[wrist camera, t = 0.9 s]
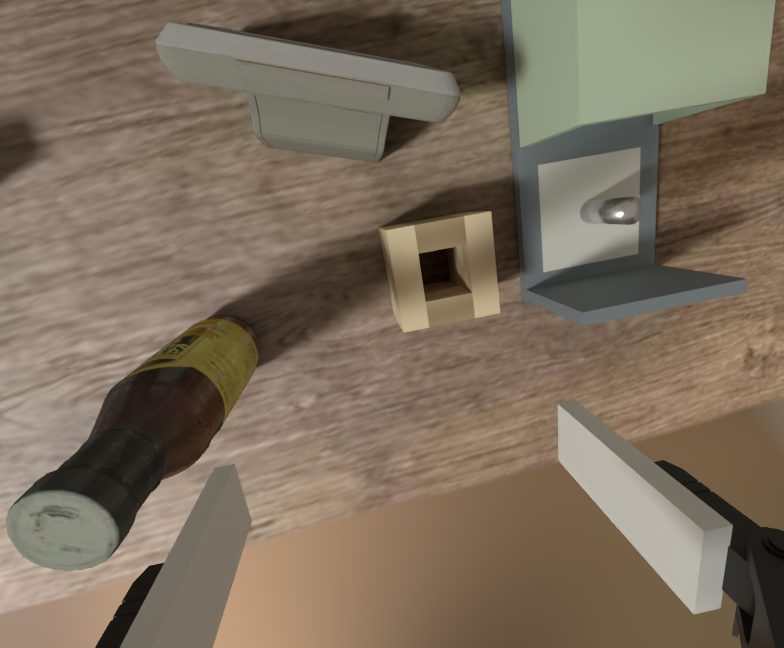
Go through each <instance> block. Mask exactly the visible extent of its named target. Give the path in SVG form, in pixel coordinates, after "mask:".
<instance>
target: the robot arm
mask: <svg viewBox="0 0 784 648" xmlns="http://www.w3.org/2000/svg"><path fill="white" fill-rule="evenodd" d="M558 454H559V462H560V463H561V464H562V465H563V466H564V467H565V468H566V470H567V471H568V472H569V473H570V474H571V475H572V476H573V478H574V479H575V480H576V481H577V482H578V483H579V484H580V485H581V487H582V488H583V489H584V490H585V491H586V492H587V493H588V494H589V496H590V497H591V498H592V499H593V500H594V501H595V502H596V504H597V505H598V506H599V507H600V508H601V509H602V510H603V512H604V513H605V514H606V515H607V516H608V517H609V518H610V520H611V521H612V522H613V523H614V524H615V525H616V526H617V528H618V529H619V530H620V531H621V532H622V533H623V534H624V535H625V536H626V538H627V539H628V540H629V541H630V542H631V543H632V545H633V546H634V547H635V548H636V549H637V550H638V551H639V553H640V554H641V555H642V556H643V557H644V558H645V559H646V560H647V562H648V563H649V564H650V565H651V566H652V567H653V568H654V569H655V571H656V572H657V573H658V574H659V575H660V576H661V578H662V579H663V580H664V581H665V582H666V583H667V584H668V585H669V587H670V588H671V589H672V590H673V591H674V592H675V593H676V595H677V596H678V597H679V598H680V599H681V600H682V601H683V603H684V604H685V605H686V606H687V607H688V608H689V609H690V610H691V612H692V613H693V614H698V613H702V612H706V611H710V610H715V609H718V608H721V601H722V595H723V591H724V592H725V593H726V594H727V595H728V596H729V597H730V598H732V600H733V601H734V602H735V603H737V607H736V613H735V619H734V625H733V632H732V635H733V636H735V637H738V634H739V635H740V641H741V647H742V648H784V531H782V530H778V529H773V528H767V527H760V526H758V525H757V524H756V523H754V522H753V521H752V520H750V519H749V518H748V517H746V516H745V515H743V514H742V513H741V512H739V511H738V510H737V509H736V508H734V507H733V506H732V505H730V504H729V503H727V502H726V501H725V500H723V499H722V498H721V497H719V496H718V495H717V494H715V493H714V492H711V491H710V489H709V488H707V487H706V486H705V485H703V484H702V483H700V482H698V481H697V479H695V478H694V477H692V476H691V475H690V474H688V473H687V472H686V471H684V470H683V469H681V468H679V467H677V466H675V465H673V464H671V463H668V462H666V461H664V460H663V461H658V462H652V461H651V460H650V459H649V458H647V457H646V456H645V455H644V454H642V453H641V452H639V451H638V450H637V449H636V448H635V447H634V446H632V445H631V444H630V443H628V442H627V441H626V440H625V439H623V438H622V437H621V436H620V435H618V434H617V433H616V432H615V431H613V430H612V429H611V428H610V427H608V426H607V425H606V424H604V423H603V422H602V421H601V420H599V419H598V418H597V417H596V416H594V415H593V414H592V413H591V412H589V411H588V410H587V409H586V408H584V407H583V406H582V405H580V404H579V403H578V402H577V401H571V402H565V403H560V404H558ZM251 522H252V521H251V517H250V514H249V511H248V507H247V504H246V501H245V497H244V494H243V491H242V487H241V484H240V481H239V477H238V474H237V470H236V467H235V464H233V465H228V466H222V467H217V468H214V470H213V472H212V474H211V475H210V477H209V479H208V481H207V483H206V485H205V487H204V489H203V491H202V493H201V494H200V496H199V498H198V500H197V502H196V504H195V506H194V508H193V510H192V511H191V513H190V515H189V517H188V519H187V521H186V523H185V525H184V527H183V529H182V530H181V532H180V534H179V536H178V538H177V540H176V542H175V544H174V546H173V548H172V549H171V551H170V553H169V555H168V557H167V559H166V561H165V563H161V564H156V565H151V566H149V567H148V568H147V569H146V570H145V571H144V572H143V573H142V574H141V575H140V576H139V577H138V578H137V579H136V580H135V581H134V582H133V584H132V585H131V587H130V589H129V591H128V592H127V594H126V596H125V597H124V599H123V601H122V605H120V606H119V608H118V610H117V611H116V613H115V615H114V616H113V620H112V621H110V623H109V625H108V626H107V628H106V630H105V632H104V633H103V635H102V637H101V638H100V640H99V642H98V644H97V645H96V647H95V648H213V645H214V641H215V638H216V635H217V632H218V628H219V625H220V622H221V619H222V616H223V612H224V609H225V606H226V603H227V599H228V596H229V593H230V590H231V587H232V583H233V580H234V577H235V574H236V570H237V567H238V564H239V561H240V558H241V554H242V551H243V548H244V545H245V542H246V538H247V535H248V532H249V529H250V526H251Z"/></svg>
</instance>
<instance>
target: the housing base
mask: <svg viewBox="0 0 784 648" xmlns="http://www.w3.org/2000/svg"><path fill="white" fill-rule="evenodd" d="M501 7H502V21H503V35H504V49H505V64H506V78H507V92H508V106H509V120H510V135H511V149H512V163H513V177H514V191H515V206H516V220H517V234H518V248H519V262H520V277H521V291H522V300H523V301H525V302H531V303H534V304H536V305H538V306H540V307H542V308H544V309H547V310H549V311H551V312H553V313H555V314H557V315H559V316H562V317H564V318H566V319H568V320H570V321H572V322H575V323H577V324H579V325H581V326H586V325H591V324H596V323H601V322H605V321H610V320H615V319H620V318H625V317H629V316H634V315H639V314H644V313H649V312H654V311H658V310H663V309H668V308H673V307H678V306H682V305H687V304H692V303H697V302H702V301H707V300H711V299H716V298H721V297H726V296H731V295H736V294H740V293H745V292H746V283H747V279H745V278H738V277H732V276H725V275H719V274H713V273H706V272H700V271H693V270H687V269H681V268H674V267H668V266H661V265H655V264H654V259H655V230H656V202H657V173H658V144H659V124H656V125H653V114H650V115H644V116H639V117H633V118H627V119H621V120H615V121H609V122H603V123H597V124H591V125H585V126H582V127H579V128H577V129H574V130H571V131H569V132H566V133H564V134H561V135H558V136H556V137H553V138H550V139H548V140H545V141H542V142H540V143H537V144H534V145H532V146H528V147H522V148H520V136H519V121H518V105H517V90H516V74H515V58H514V43H513V27H512V12H511V0H501ZM621 197H638V198H640V199H641V200H642V201H643V203H644V207H645V210H644V214H643V216H642V218H641V219H640V220H639V221H638V222H637V223H635V224H632V225H621V224H588V223H585V222H583V221H582V219H581V217H580V209H581V207H582V205H583V204H584V203H585V202H586V201H588V200H592V199H606V198H621Z"/></svg>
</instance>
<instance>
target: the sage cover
mask: <svg viewBox="0 0 784 648" xmlns="http://www.w3.org/2000/svg"><path fill="white" fill-rule="evenodd" d="M774 10H775V0H511V12H512V27H513V43H514V58H515V74H516V90H517V105H518V121H519V136H520V148H522V147H528V146H532V145H534V144H537V143H540V142H542V141H545V140H548V139H550V138H553V137H556V136H558V135H561V134H564V133H566V132H569V131H571V130H574V129H577V128H579V127H582V126H585V125H591V124H597V123H603V122H609V121H615V120H621V119H627V118H633V117H639V116H644V115H650V114H653V125H656V124H662V123H665V122H669V121H672V120H676V119H679V118H683V117H686V116H690V115H693V114H696V113H700V112H703V111H707V110H710V109H714V108H717V107H720V106H724V105H727V104H731V103H734V102H738V101H741V100H744V99H748V98H751V97H755V96H758V95H762V94H765V93H766V84H767V75H768V66H769V56H770V47H771V38H772V28H773V19H774Z"/></svg>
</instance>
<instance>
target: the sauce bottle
mask: <svg viewBox="0 0 784 648" xmlns="http://www.w3.org/2000/svg"><path fill="white" fill-rule="evenodd" d="M259 348H260V347H259V341H258V338H257V337H256V335H255V333H254V332H253V331H252V329H251V328H250V327H249V326H248V325H246V324H245V323H244V322H243V321H241V320H239V319H236V318H233V317H229V316H215V317H212V318H208V319H206V320H203V321H201V322H198V323H196V324H195V325H193V326H192V327H190V328H189V329H188V330H186V331H185V332H184V333H182V334H181V335H180V336H178V337H177V338H176V339H175V340H173V341H172V342H171V343H169V344H168V345H166V346H165V347H164V348H162V349H161V350H160V351H159V352H157V353H156V354H154V355H153V356H152V357H151V358H149V359H148V360H147V361H146V362H144V363H143V364H141V365H140V366H139V367H138V368H137V369H135V370H134V371H133V372H131V373H130V374H129V375H127V376H126V377H125V378H124V379H122V380H121V381H120V382H119V383H117V384H116V385H115V386H114V387H113V388H112V389H111V390H110V391H109V393H108V394H107V396H106V398H105V400H104V402H103V405H102V408H101V410H100V413H99V415H98V418H97V420H96V423H95V425H94V428H93V430H92V432H91V434H90V436H89V438H88V440H87V441H86V442H85V443H84V444H83V445H82V446H81V447H80V449H79V450H78V451H77V452H76V453H75V454H74V455H73V456H72V457H71V458H70V459H68V460H67V461H65V462H64V463H63V464H62V465H61V466H60V467H59V468H58V469H57V470H56V471H53V472H50V473H47V474H46V475H45V476H43V477H42V478H40V479H39V480H37V481H36V482H35V483H34V484H33V486H32V487H31V488H30V489H28V490H27V491H26V492H25V493H24V494H23V495H22V496H21V497H20V498H19V499H18V500H17V501H16V502H15V503H14V504H13V505H12V507H11V508H10V510H9V512H8V515H7V518H6V527H7V532H8V536H9V538H10V540H11V542H12V543H13V544H14V546H15V547H16V549H17V550H18V551H19V552H20V553H21V555H22V556H23V557H25V558H26V559H28V560H30V561H31V562H33V563H34V564H38V565H41V566H43V567H46V568H50V569H54V570H63V571H72V570H84V569H86V568H92V567H94V566H96V565H98V564H100V563H102V562H104V561H106V560H107V559H108V558H109V557H110V556H111V555H112V554H113V553H114V552H115V551H116V550H117V548H118V547H119V546H120V544H121V543H122V541H123V540H124V538H125V537H126V536H127V534H128V533H129V531H130V529H131V527H132V525H133V523H134V521H135V517H136V513H137V512H138V510H139V509H140V507H141V506H142V504H143V503H144V502H145V500H146V499H147V497H148V496H149V494H150V493H151V492H152V491H154V490H155V489H156V488H157V487H158V486H159V484H160V482H161V480H163V479H166V478H169V477H171V476H174V475H176V474H178V473H180V472H182V471H184V470H186V469H187V468H189V467H190V466H191V465H193V464H194V463H195V462H196V461H197V460H198V459H199V458H200V457H201V455H202V454H203V453H204V452H205V451H206V449H207V448H208V447H209V445H210V442H211V440H212V438H213V437H214V436H215V435H216V433H217V432H218V431H219V430H220V429H221V427H222V425H223V423H224V422H225V420H226V418H227V417H228V415H229V413H230V412H231V410H232V408H233V407H234V405H235V403H236V401H237V400H238V398H239V396H240V395H241V393H242V391H243V390H244V388H245V386H246V385H247V383H248V381H249V379H250V378H251V376H252V374H253V372H254V370H255V368H256V366H257V362H258V359H259V355H260V354H259Z"/></svg>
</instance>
